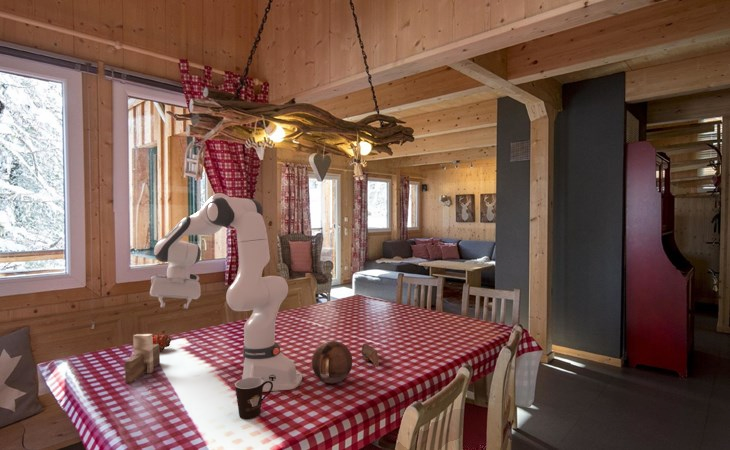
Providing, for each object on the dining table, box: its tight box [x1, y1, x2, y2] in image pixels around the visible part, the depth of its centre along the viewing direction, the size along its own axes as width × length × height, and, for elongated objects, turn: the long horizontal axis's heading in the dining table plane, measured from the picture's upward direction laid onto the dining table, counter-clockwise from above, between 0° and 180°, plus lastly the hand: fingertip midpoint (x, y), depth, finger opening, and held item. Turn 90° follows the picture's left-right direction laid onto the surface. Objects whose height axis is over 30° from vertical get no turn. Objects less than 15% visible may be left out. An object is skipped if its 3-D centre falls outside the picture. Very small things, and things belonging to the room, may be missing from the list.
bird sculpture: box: [361, 343, 380, 368], centre depth 170 cm, size 7×25×5 cm, turn 15°
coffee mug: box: [234, 377, 273, 420], centre depth 127 cm, size 12×9×10 cm
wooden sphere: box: [311, 340, 353, 384], centre depth 151 cm, size 15×15×15 cm
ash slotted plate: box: [132, 333, 154, 374], centre depth 162 cm, size 6×2×15 cm, turn 89°
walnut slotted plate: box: [124, 344, 161, 383], centre depth 162 cm, size 2×20×8 cm, turn 179°
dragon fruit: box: [152, 332, 172, 352], centre depth 188 cm, size 8×8×12 cm
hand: (174, 307), depth 174 cm, fingers open, 8 cm apart
